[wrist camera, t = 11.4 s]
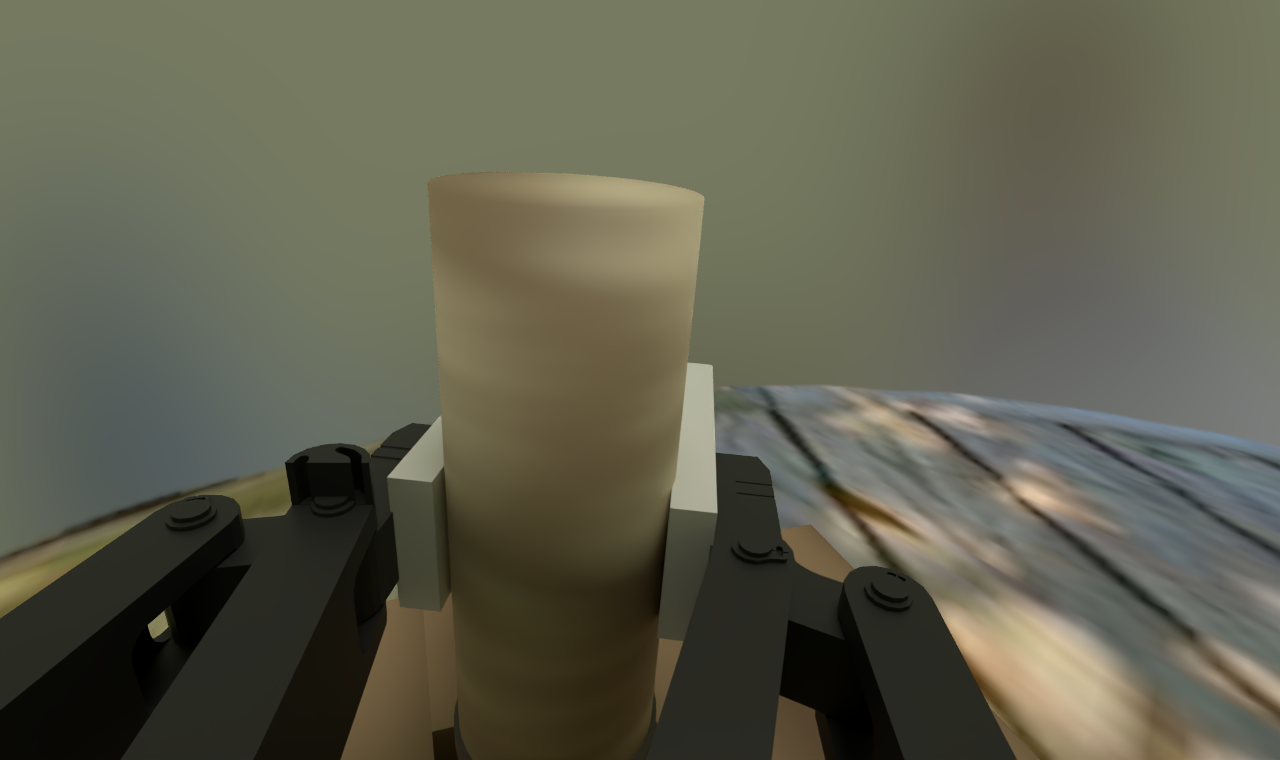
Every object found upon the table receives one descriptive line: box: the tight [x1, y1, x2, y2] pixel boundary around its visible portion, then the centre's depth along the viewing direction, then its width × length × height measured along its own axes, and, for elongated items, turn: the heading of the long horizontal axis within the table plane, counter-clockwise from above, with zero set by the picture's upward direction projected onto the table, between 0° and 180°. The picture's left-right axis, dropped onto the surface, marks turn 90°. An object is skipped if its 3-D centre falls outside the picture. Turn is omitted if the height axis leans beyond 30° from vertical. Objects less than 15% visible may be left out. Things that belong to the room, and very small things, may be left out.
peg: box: [428, 172, 704, 760], centre depth 12 cm, size 4×4×14 cm
